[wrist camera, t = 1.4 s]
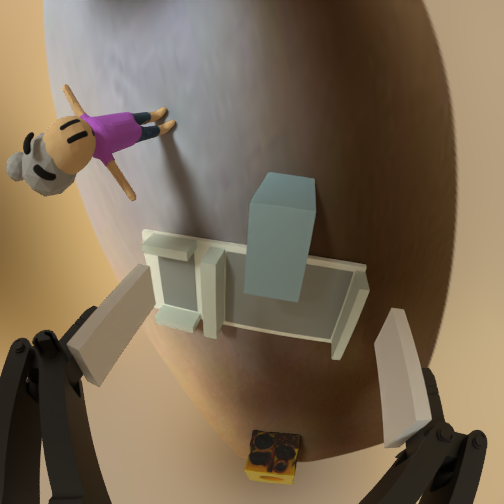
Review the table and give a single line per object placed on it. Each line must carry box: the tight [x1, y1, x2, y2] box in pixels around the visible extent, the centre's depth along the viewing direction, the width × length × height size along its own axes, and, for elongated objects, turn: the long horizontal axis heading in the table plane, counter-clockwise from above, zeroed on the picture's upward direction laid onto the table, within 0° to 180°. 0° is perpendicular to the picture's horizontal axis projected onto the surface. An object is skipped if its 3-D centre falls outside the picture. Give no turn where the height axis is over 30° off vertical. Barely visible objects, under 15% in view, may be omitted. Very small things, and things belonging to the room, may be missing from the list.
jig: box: [142, 229, 370, 360], centre depth 29 cm, size 11×24×4 cm, turn 86°
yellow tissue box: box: [244, 430, 301, 484], centre depth 46 cm, size 10×10×10 cm
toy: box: [6, 84, 175, 201], centre depth 17 cm, size 10×6×15 cm, turn 33°
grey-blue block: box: [244, 172, 316, 302], centre depth 22 cm, size 7×4×8 cm, turn 176°
